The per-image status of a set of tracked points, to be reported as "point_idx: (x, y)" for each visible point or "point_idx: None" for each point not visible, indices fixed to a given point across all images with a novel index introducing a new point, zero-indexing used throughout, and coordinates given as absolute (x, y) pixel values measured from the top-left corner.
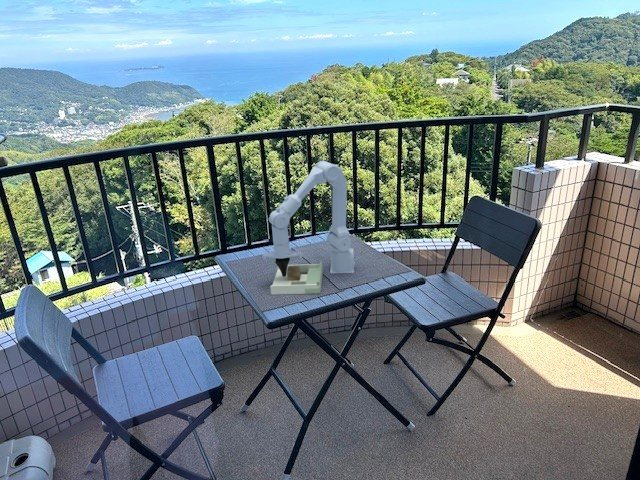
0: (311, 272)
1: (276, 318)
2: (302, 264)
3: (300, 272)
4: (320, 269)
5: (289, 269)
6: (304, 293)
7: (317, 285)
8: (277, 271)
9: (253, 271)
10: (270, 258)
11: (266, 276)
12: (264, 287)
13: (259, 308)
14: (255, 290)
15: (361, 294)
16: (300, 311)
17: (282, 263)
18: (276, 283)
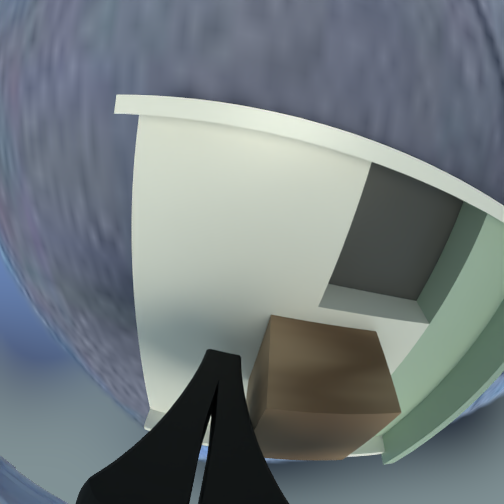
0: (465, 302)
1: (205, 458)
2: (477, 192)
3: (382, 355)
4: (493, 380)
5: (269, 446)
6: None
7: (383, 450)
8: (138, 180)
9: (10, 61)
10: (43, 491)
11: (73, 146)
12: (100, 312)
13: (141, 423)
14: (69, 322)
15: (474, 408)
16: (276, 459)
17: (189, 500)
18: (167, 380)
